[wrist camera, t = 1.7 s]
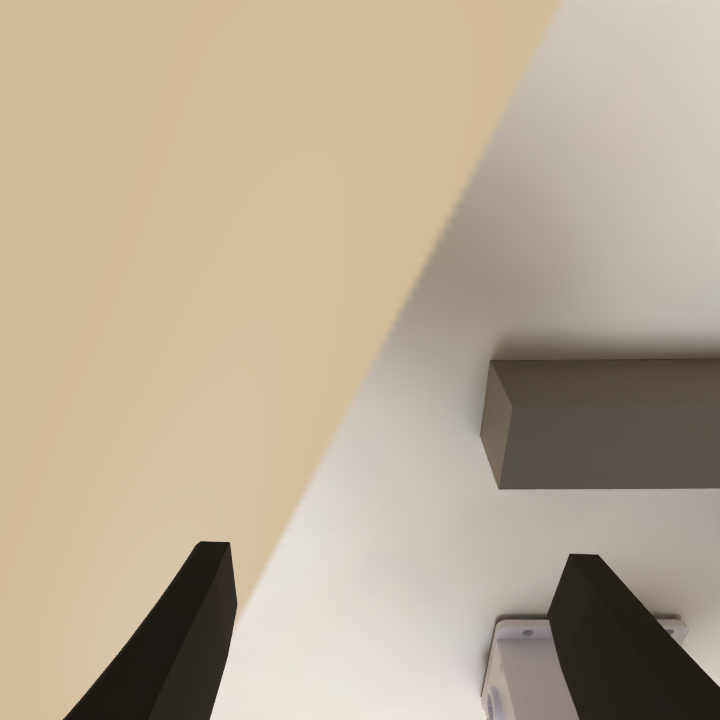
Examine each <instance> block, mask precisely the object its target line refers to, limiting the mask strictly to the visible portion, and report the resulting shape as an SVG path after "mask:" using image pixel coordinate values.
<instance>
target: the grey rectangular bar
mask: <svg viewBox="0 0 720 720" xmlns="http://www.w3.org/2000/svg"><path fill="white" fill-rule="evenodd" d="M480 437H481V440H482V443H483V446H484V449H485V452H486V454H487V457H488V460H489V463H490V466H491V469H492V472H493V475H494V478H495V480H496V483H497V486H498V489H687V488H720V359H622V360H492V361H490V366H489V373H488V381H487V388H486V396H485V403H484V410H483V418H482V425H481V433H480Z"/></svg>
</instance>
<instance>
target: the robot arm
mask: <svg viewBox="0 0 720 720" xmlns="http://www.w3.org/2000/svg"><path fill="white" fill-rule="evenodd" d="M236 609H237V597H236V589H235V581H234V572H233V565H232V556H231V548H230V542H206V541H201V542H199V543H198V544H197V545H196V546H195V547H194V549H193V551H192V552H191V554H190V555H189V557H188V558H187V560H186V561H185V563H184V564H183V566H182V567H181V569H180V570H179V572H178V573H177V575H176V576H175V578H174V579H173V581H172V582H171V584H170V585H169V586H168V588H167V589H166V591H165V592H164V594H163V595H162V596H161V598H160V599H159V601H158V602H157V603H156V605H155V606H154V608H153V609H152V610H151V611H150V613H149V614H148V615H147V617H146V618H145V620H144V621H143V622H142V623H141V625H140V626H139V627H138V629H137V630H136V631H135V633H134V634H133V635H132V637H131V638H130V640H129V641H128V642H127V643H126V645H125V646H124V647H123V648H122V650H121V651H120V652H119V653H118V655H117V656H116V657H115V658H114V660H113V661H112V662H111V663H110V664H109V666H108V667H107V668H106V669H105V671H104V672H103V673H102V674H101V675H100V677H99V678H98V679H97V680H96V682H95V683H94V684H93V685H92V686H91V688H90V689H89V690H88V691H87V693H86V694H85V695H84V696H83V697H82V698H81V700H80V701H79V702H78V703H77V704H76V705H75V707H74V708H73V709H72V710H71V711H70V712H69V714H68V715H67V716H66V717H65V718H64V719H63V720H210V716H211V713H212V710H213V706H214V703H215V699H216V696H217V692H218V689H219V685H220V682H221V678H222V675H223V671H224V668H225V664H226V661H227V657H228V652H229V647H230V642H231V637H232V631H233V626H234V620H235V615H236ZM547 615H548V619H549V620H502V621H500V622H499V623H497V625H496V628H495V633H494V638H493V643H492V648H491V653H490V658H489V663H488V668H487V673H486V678H485V683H484V688H483V693H482V698H481V704H482V708H483V709H484V710H485V712H486V717H487V720H720V687H719V686H718V685H717V684H716V683H715V682H714V681H713V680H712V679H711V678H710V677H709V676H708V675H707V674H706V673H705V672H704V671H703V670H702V669H701V668H700V666H699V665H698V664H697V663H696V662H695V661H694V660H693V659H692V658H691V657H690V656H689V655H688V654H687V653H686V652H685V650H684V649H683V648H682V647H681V645H682V643H683V641H684V639H685V637H686V635H687V633H688V627H687V626H686V624H685V623H684V621H682V620H678V619H655V618H654V617H653V616H652V615H651V613H650V612H649V611H648V610H647V609H646V608H645V607H644V606H643V604H642V603H641V602H640V601H639V600H638V599H637V598H636V597H635V596H634V594H633V593H632V592H631V591H630V590H629V589H628V588H627V587H626V585H625V584H624V583H623V582H622V581H621V580H620V579H619V578H618V576H617V575H616V574H615V573H614V572H613V571H612V570H611V568H610V567H609V566H608V565H607V564H606V563H605V562H604V561H603V560H602V558H601V557H600V556H599V555H591V554H569V557H568V560H567V562H566V565H565V568H564V570H563V573H562V576H561V579H560V581H559V584H558V587H557V589H556V592H555V595H554V597H553V600H552V603H551V606H550V608H549V611H548V614H547Z"/></svg>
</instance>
